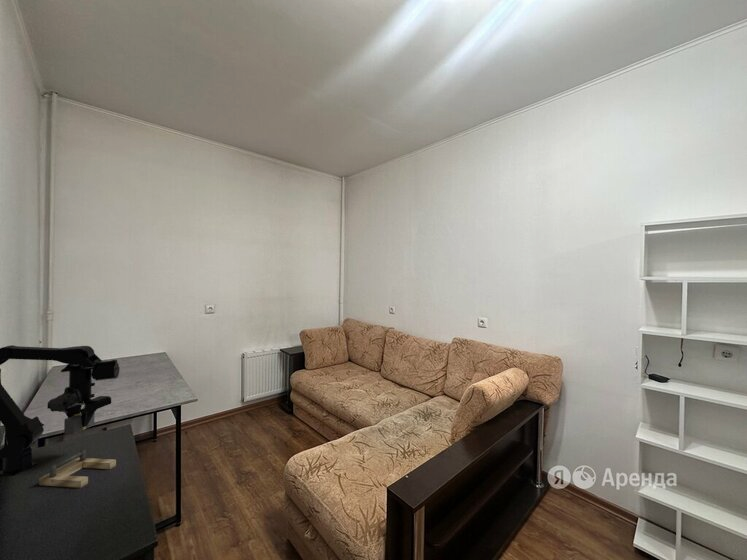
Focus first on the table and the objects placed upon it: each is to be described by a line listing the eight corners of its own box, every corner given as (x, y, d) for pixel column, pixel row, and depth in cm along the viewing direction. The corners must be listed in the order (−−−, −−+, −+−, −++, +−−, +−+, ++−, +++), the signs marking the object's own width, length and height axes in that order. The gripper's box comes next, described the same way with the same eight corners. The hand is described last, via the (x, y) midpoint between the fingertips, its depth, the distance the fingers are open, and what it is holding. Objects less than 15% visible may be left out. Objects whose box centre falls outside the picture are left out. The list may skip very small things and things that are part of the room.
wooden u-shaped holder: (39, 485, 90) (39, 467, 90) (78, 463, 101) (78, 448, 101) (80, 487, 89) (81, 470, 89) (115, 465, 100) (116, 450, 100)
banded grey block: (63, 433, 102) (64, 419, 102) (85, 424, 109) (85, 410, 109) (73, 434, 101) (74, 419, 101) (94, 424, 108) (94, 410, 108)
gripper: (28, 389, 98) (27, 437, 98) (80, 390, 97) (79, 438, 96) (66, 379, 109) (65, 421, 109) (113, 380, 108) (112, 423, 107)
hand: (79, 426), depth 105 cm, fingers closed on banded grey block, 4 cm apart
